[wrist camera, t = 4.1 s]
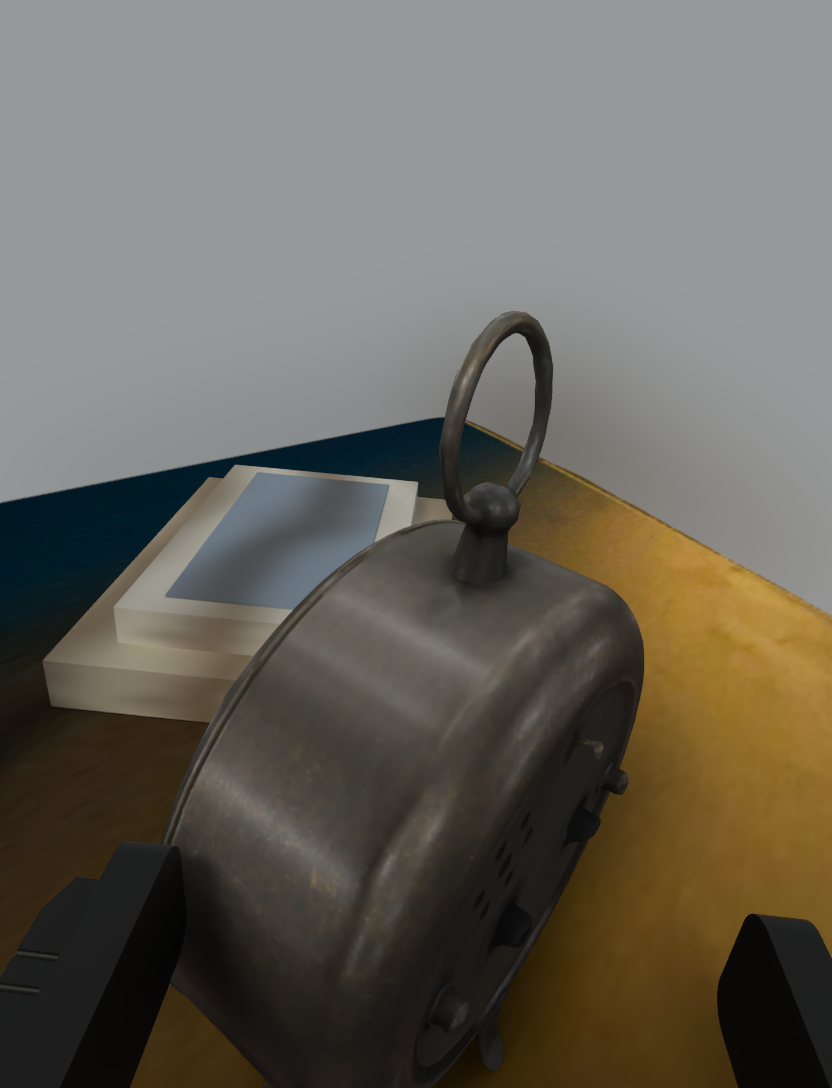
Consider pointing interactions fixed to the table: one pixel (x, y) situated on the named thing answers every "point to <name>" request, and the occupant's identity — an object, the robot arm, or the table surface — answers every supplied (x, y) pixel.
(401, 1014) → the alarm clock
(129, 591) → the pedestal
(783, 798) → the table surface
